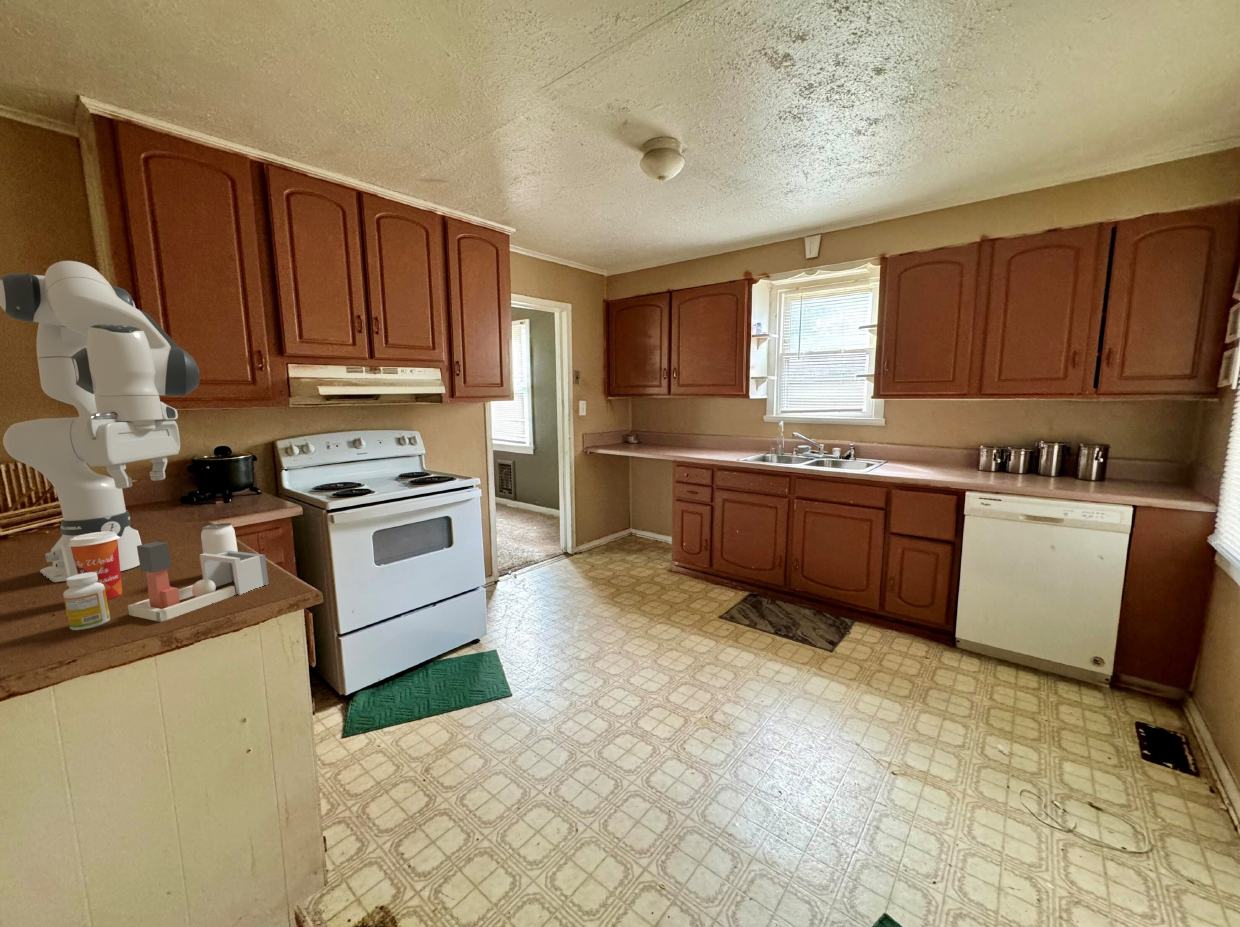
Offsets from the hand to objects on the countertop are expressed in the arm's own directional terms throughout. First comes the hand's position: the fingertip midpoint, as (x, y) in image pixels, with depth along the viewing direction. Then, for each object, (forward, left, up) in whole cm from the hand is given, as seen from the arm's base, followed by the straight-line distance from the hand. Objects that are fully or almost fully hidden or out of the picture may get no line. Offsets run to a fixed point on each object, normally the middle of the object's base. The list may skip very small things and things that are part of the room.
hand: (142, 483), depth 97 cm
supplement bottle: (-7, -8, -26) cm, 29 cm away
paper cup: (-23, +1, -26) cm, 35 cm away
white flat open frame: (0, +4, -26) cm, 26 cm away
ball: (0, +8, -24) cm, 25 cm away
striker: (0, 0, -26) cm, 26 cm away
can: (-13, +19, -26) cm, 35 cm away
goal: (0, +13, -26) cm, 29 cm away
